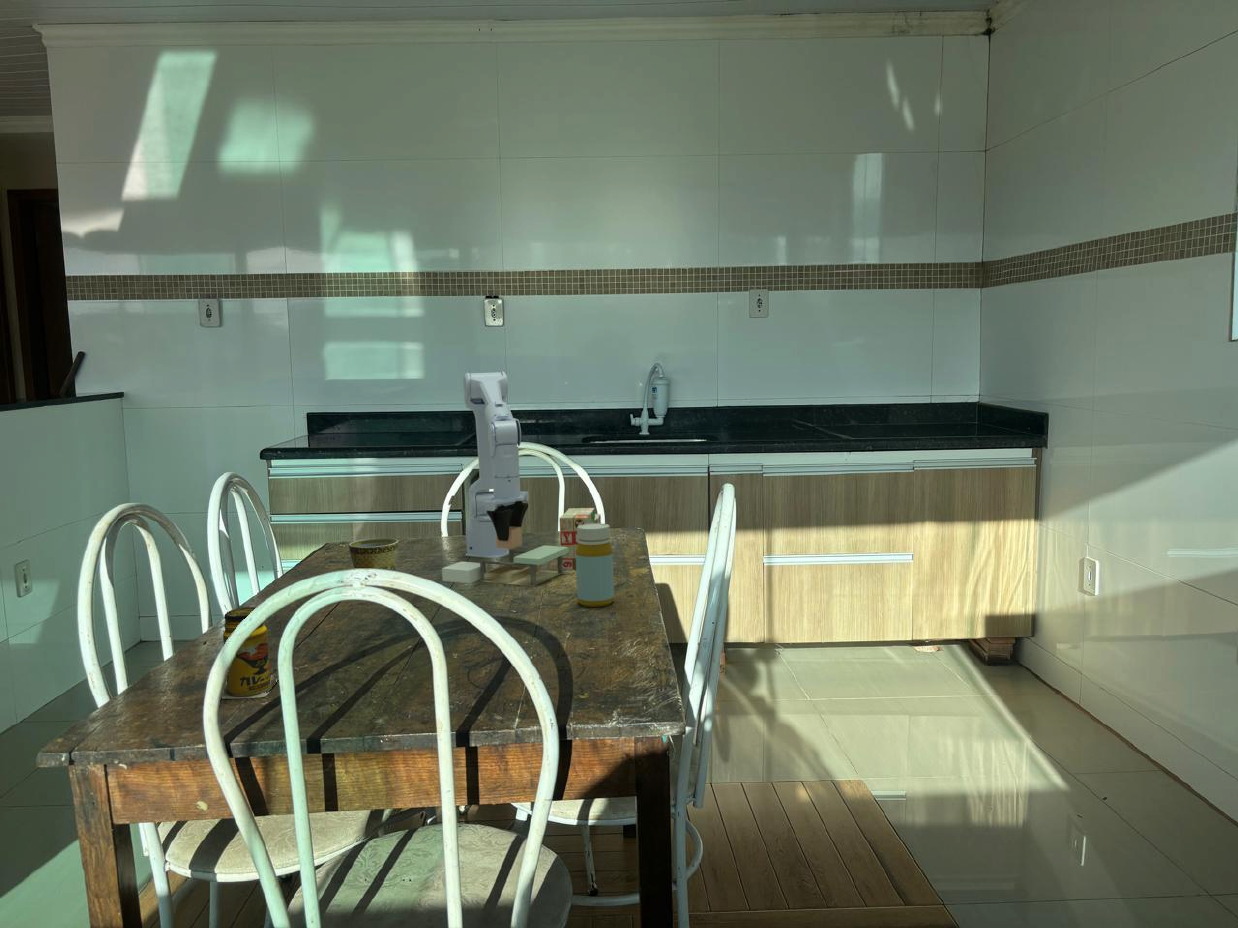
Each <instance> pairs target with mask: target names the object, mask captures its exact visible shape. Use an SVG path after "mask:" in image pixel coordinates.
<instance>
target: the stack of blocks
mask: <svg viewBox="0 0 1238 928" xmlns="http://www.w3.org/2000/svg"><path fill="white" fill-rule="evenodd" d="M601 521H602V517H601V513H596V511H595V507H580V508H579V507H578V508H576V507H575V508H574V507H573V508H572V507H569V508H568V509H567V510H566V511H565V512H564V513H563V514H562V515H560V517H559V538H560V539H559V540H560V547H569V553H567V554H564V555H562V561H563V571H564V570H575V571H577V570H576V549H577V545H578V536H577V527H578V526H579V525H582V524H590V523H602V522H601Z"/></svg>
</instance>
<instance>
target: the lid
mask: <svg viewBox="0 0 1238 928" xmlns="http://www.w3.org/2000/svg"><path fill="white" fill-rule="evenodd" d="M527 551H528V552H526V553H519V555H516V556H515V555H514V563H522V564H535V565H539V566H540V565H543V564H545V563H548V562H550V561H552V560H555V559H557V557H559V556H562V555H564V554H567V553H569V547H561V545H560V546H558V545H545V544H543V545H541V546H538V547H536V548H534V549H531V550H527Z"/></svg>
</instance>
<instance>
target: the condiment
mask: <svg viewBox="0 0 1238 928" xmlns="http://www.w3.org/2000/svg"><path fill="white" fill-rule="evenodd" d="M255 608H256V606H255V607H254V606H250V607H249V606H248V607H247V606H245V607H239V608H238V607H237V608H235V609H231V610H228V611H227V612H226V613H225V614H224V617H223V618H224V631H223V632H222V633H223V634H222V638H223V645H224V644H225V642H226V640H227V639H228V637H229V636H230V635H231V633H232V632H233V631H234V630H235V629H236V627H237V625H238V624H239V623H240V622H241V621H242V620H243V619H245V618H246V617H247V616H248V615H249V614H250V612H251V611H253V610H254V609H255ZM268 636H269V635H268V628H267V626H265V621H264V622H263V623H262V624H261V625H260V626H259V627H258V628H257V629H256V630H255V631H254V632H253V633H252V634H251V636H250V637H249V638H248V639H247V640H246V641H245V642H244V644H243V645H242V646H241V648H240V649H239V650H238V651H237V653H236V657H235V658H234V660H233V662H232V665H231V667H230V669H229V672H228V675H227V678H226V680H225V681H226V683H225V688H224V693H223V697H222V699H221V700H226V699H254V698H265V697H267V696H268V695H269V694H270V692H268V693H266V690H268V689H269V688H270V687H271V684H270V683H271V680H272V676H271V665H270V650H269V637H268ZM275 679H276V682H277V679H278V678H275ZM277 683H278V682H277ZM264 692H265V693H264Z"/></svg>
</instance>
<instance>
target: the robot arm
mask: <svg viewBox="0 0 1238 928" xmlns="http://www.w3.org/2000/svg"><path fill="white" fill-rule="evenodd" d="M508 392H509V381H508V376H507V374H506V373H505V371H498V372H497V371H496V372H470V373H469V372H466V373H465V374H464V376H463V395H464V404H465V407H466V408H467V409H470V410H472V412H473V415H474V418H475V430H476V431H475V432H476V441H477V442H476V444H477V458H478V461H477V462H478V473H479V475H478V476H479V477H478V479H477V480H475V481H474V482H473V483H472V484H471V485H470V486H469V489H468V510H469V514H470V515H469V516H470V517H471V518H470V519H469V520H468V521H467V523H466V526H465V540H466V541H465V542H466V553H465V554H464V556H465V557H475V558H485V559H487V558H489V559H499V558H502V557H505V556H509V550H510V549H508V548H497V542H496V533H497V537H498V540H499V541H508V538H509V526H513V527H522V525H523V521H524V517H525V515H526V512H527V510H528V509H529V503H527V502H528V501H529V500H530V498H529V491H524V490H523V491H522V490H521V480H520V479H521V478H520V476H521V475H520V457H519V456H520V455H519V454H520V451H519V447H520V446H521V441H522V429H521V424H520V421H519V419H518V418H514V416H513V413H512V412H511V408H510V406H509V405H508V403H506V399H507V396H508ZM484 490H489V491H484ZM490 490H492V491H490ZM526 501H527V502H526Z"/></svg>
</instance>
